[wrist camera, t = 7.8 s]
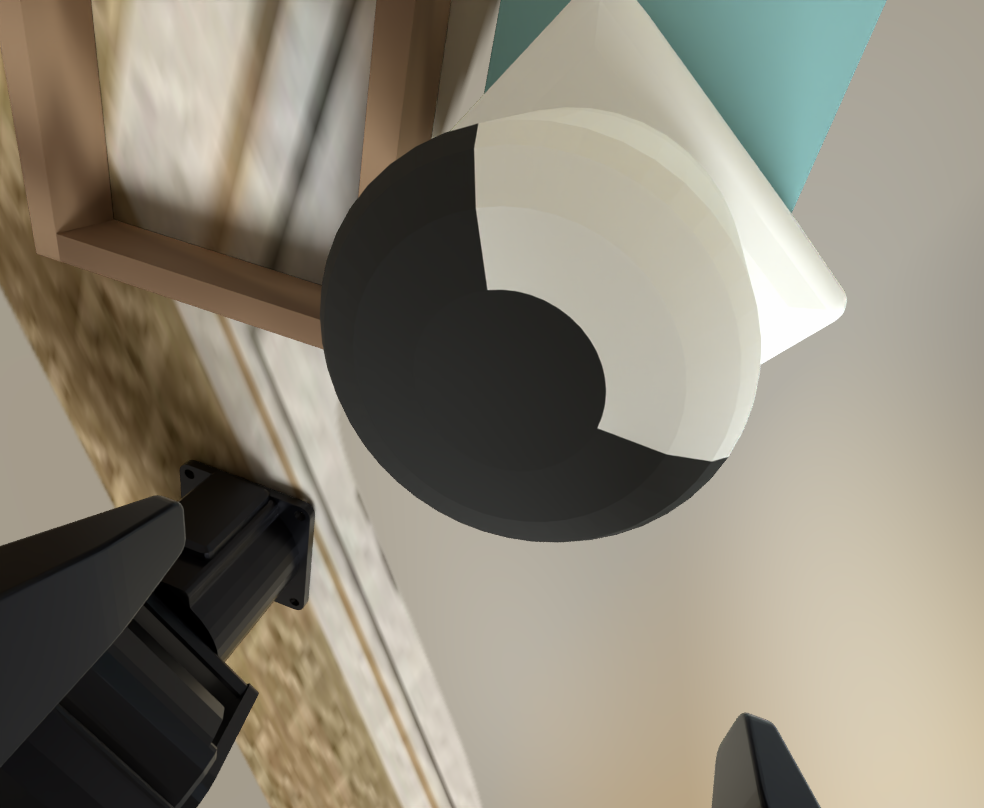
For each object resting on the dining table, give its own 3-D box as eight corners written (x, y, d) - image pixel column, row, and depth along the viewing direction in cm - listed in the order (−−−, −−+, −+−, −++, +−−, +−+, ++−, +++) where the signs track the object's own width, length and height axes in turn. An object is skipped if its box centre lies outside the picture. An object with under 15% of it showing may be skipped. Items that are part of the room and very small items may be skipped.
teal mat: (683, 449, 21) (683, 455, 21) (437, 368, 23) (433, 373, 22) (903, -47, 14) (908, -50, 14) (527, -123, 16) (523, -127, 15)
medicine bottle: (594, 369, 20) (490, 662, 10) (448, 195, 19) (166, 330, 9) (801, 228, 17) (960, 460, 7) (640, 3, 16) (533, -132, 5)
